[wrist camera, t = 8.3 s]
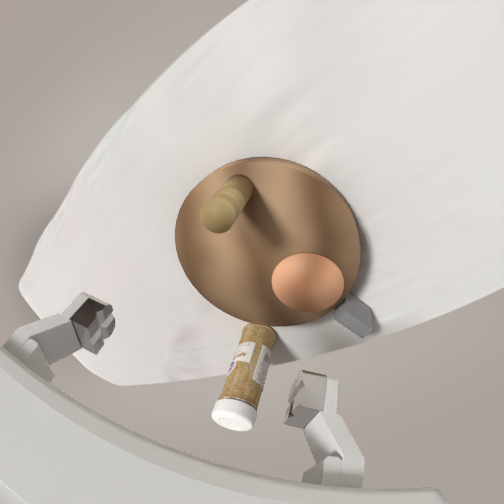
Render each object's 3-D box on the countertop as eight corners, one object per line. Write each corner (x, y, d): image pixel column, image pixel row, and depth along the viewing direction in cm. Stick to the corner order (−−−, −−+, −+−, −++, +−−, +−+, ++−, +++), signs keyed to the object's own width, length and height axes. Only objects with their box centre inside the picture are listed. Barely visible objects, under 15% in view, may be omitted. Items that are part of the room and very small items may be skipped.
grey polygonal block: (371, 308, 32) (373, 330, 29) (361, 315, 33) (362, 338, 30) (345, 289, 31) (345, 311, 28) (335, 297, 32) (335, 319, 29)
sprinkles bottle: (244, 317, 37) (210, 408, 26) (280, 326, 36) (255, 420, 25) (241, 340, 40) (210, 425, 28) (274, 348, 39) (250, 436, 28)
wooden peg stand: (340, 137, 22) (346, 160, 16) (366, 306, 31) (370, 363, 24) (158, 183, 29) (111, 217, 22) (217, 318, 37) (195, 367, 30)
